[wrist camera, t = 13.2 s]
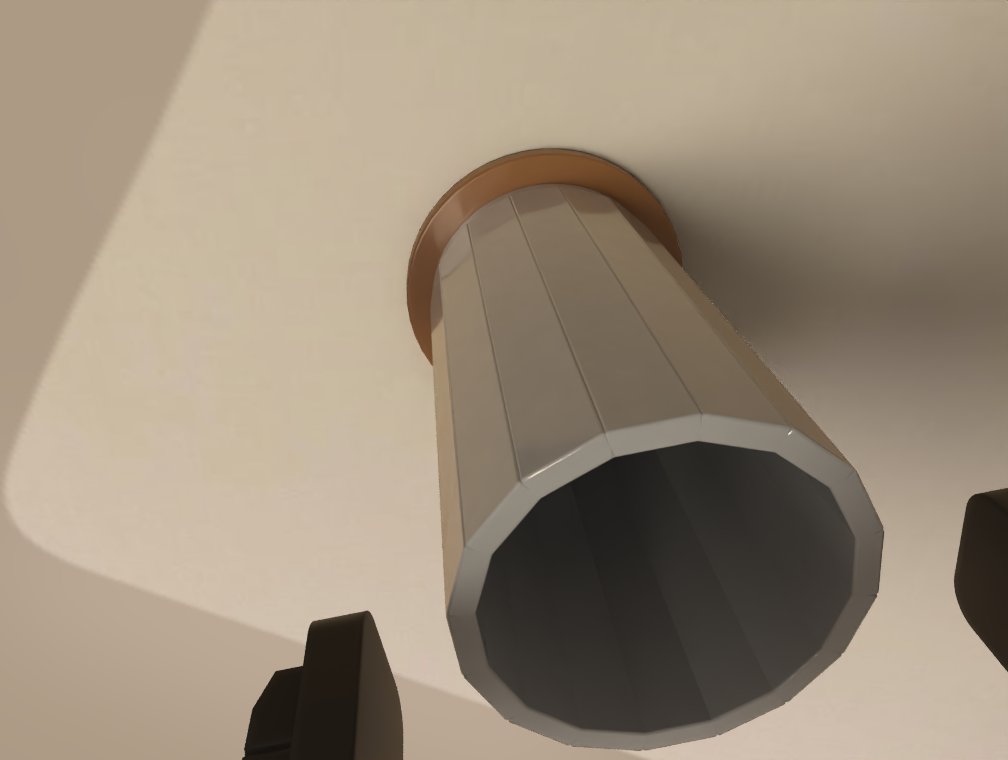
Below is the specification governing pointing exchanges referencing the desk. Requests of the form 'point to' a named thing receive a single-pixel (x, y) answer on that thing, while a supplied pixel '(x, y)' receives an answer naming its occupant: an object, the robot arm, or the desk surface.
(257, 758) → the robot arm
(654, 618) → the steel cup
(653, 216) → the coaster
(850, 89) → the desk surface
